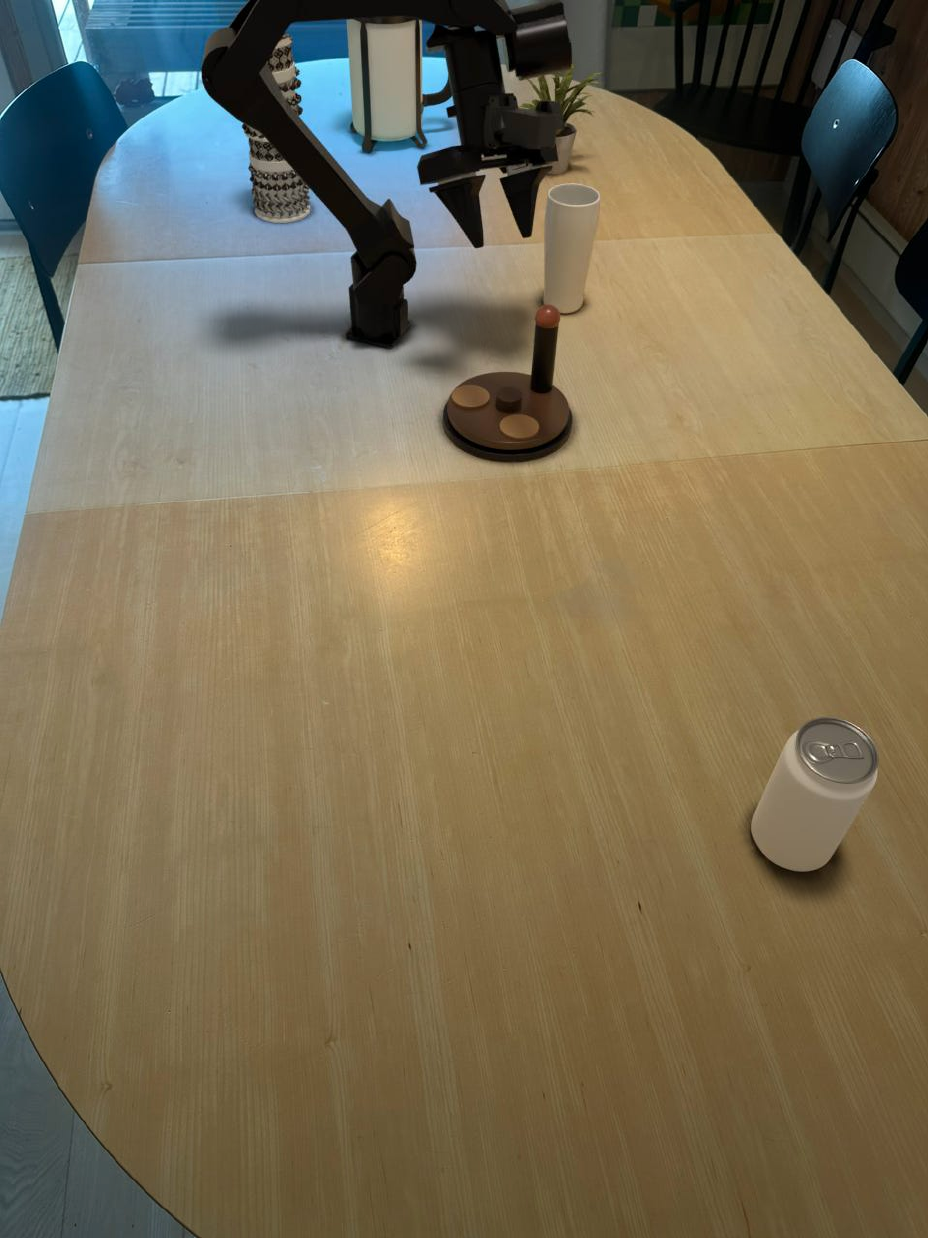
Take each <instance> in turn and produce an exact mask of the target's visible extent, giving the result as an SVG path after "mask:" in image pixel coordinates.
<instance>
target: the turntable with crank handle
mask: <svg viewBox="0 0 928 1238" xmlns="http://www.w3.org/2000/svg"><path fill="white" fill-rule="evenodd" d="M534 320H535V325H534V333H533V334H534V336H533V346H532V347H533V348H532V359H531V360H532V361H531V370H530V371H531V373H530V374H528V373H525V372H516V371H493V372H487V373H482V374H479V375H475V376H473V377H470V378H468V379H466V380H464V381H462V382H461V383H460V384H458V385H457V386H456V387H455V388H454V389H453V390H452V392H451V393H450V394H449V397H448V399H447V401H448V404H447V414H448V418H449V421H450V423H451V425H452V426H453V428H454V429H455V430H456V431H457V432H458V433H459V434H460V435H462V436H463V437H465V438H466V439H468V440H470V441H472V442H474V443H476V444H479V445H482V446H486V447H490V448H495V449H503V450H520V449H528V448H533V447H537V446H540V445H543V444H545V443H548V442H549V441H551V440H553V439H554V438H556V437H557V436H558V435H559V434H561V433H562V431H563V430H564V429H565V427H566V425H567V423H568V419H569V408H570V405H569V404H570V403H569V401H568V399H567V397H566V396H565V394H564V393H563V392H562V391H561V390H560V389H559V388H558V387H557V386H555V385H554V377H555V376H554V374H555V364H556V355H557V346H558V337H559V336H558V335H559V325H560V321H561V313H559V311H558V309H557V308H556V307H555V306H553V305H545V304H543V305H541V306H540V307H539V308H538V309H537V310H536V312H535V315H534Z"/></svg>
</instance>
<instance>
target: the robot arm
mask: <svg viewBox="0 0 928 1238" xmlns="http://www.w3.org/2000/svg"><path fill="white" fill-rule="evenodd" d="M564 5H565V4H564V2H563V1H562V0H543V1H541V2H537V3H533V4H528V5H525V6H520V7H516V8H510V7H509V4H508V3H507V1H506V0H247V2H245V4H244V5H243V6H242V7H241V8H240V9H239V11H238V12H237V14H236V15H235V16H234V18H233V19H232V21H231V22H230V24H229V25H228V26H227V27H222V28H218V29H217V30H215V31H214V32H212V33H211V34H210V36H209V37H208V39H207V40H206V43H205V46H204V49H203V55H202V62H201V68H200V70H201V71H200V72H201V83H202V86H203V88H204V91H205V92H206V94H207V95H208V96H209V98H210V99H212V101H213V102H215V103H216V104H217V105H219V106H220V107H221V108H222V109H224V111H226V112H227V113H228V114H230V115H231V116H232V117H233V118H235V119H236V120H237V121H239V123H242V124H243V123H244V124H246V125H248V126H249V127H251V128H253V129H255V130H257V131H258V132H260V133H261V134H262V135H263V136H264V137H265V138H266V139H267V140H268V141H269V143H270V144H271V145H272V146H273V147H274V148H275V149H276V151H277V152H278V153H279V154H280V155H281V156H282V157H283V159H284V160H285V161H286V162H287V163H288V164H289V165H290V166H291V168H292V169H293V170H294V171H295V172H296V173H297V174H298V176H299V177H300V178H301V179H302V180H303V181H304V182H305V183H306V185H307V186H308V187H309V190H311V191H312V193H313V194H314V195H315V197H316V198H318V200H319V201H320V202H321V203H322V204H323V205H324V206H325V207H326V209H327V210H329V212H330V214H332V216H333V217H334V218H335V219H336V220H337V221H338V222H339V223H340V225H341V226H342V227H343V228H344V229H345V231H346V233H347V235H348V236H349V238H350V240H351V242H352V244H353V246H354V249H355V250H356V251H355V252H354V253H353V254H351V256H350V259H349V260H350V267H351V268H350V269H351V278H352V283H351V285H349V287H348V299H349V300H348V301H349V316H350V328H349V329H348V330H347V332H346V333H345V338H346V339H347V340H348V339H349V340H352V341H356V342H362V343H366V344H368V345H369V344H370V345H374V346H378V347H382V348H387V349H391V348H393V347H394V346H395V344H397V342H398V341H399V340H400V339H401V337H403V335H404V334H405V333H406V332H407V330H408V329H409V327H410V326H411V321H410V320H409V301H408V299H407V298H405V286H404V285H405V284H408V282H410V281H411V280H412V279H413V277H414V275H415V273H416V271H417V265H418V264H417V258H416V251H415V243H414V238H413V232H412V227H411V222H410V220H409V219H407V218H405V217H403V215H401V213H399V211H398V210H397V207H395V204H394V203H393V201H392V200H391V199H390V198H387V200H386V201H385V202H384V203H383V204H382V205H380V204H378V203H376V202H374V201H373V200H371V199H370V198H369V197H367V196H366V195H365V193H364V192H363V191H362V189H361V188H360V187H359V186H358V185H357V184H356V182H355V181H354V180H353V179H352V178H351V177H350V175H349V174H348V173H347V172H346V170H345V169H344V168H343V167H342V166H341V164H340V163H339V162H338V161H337V160H336V159H335V157H334V156H333V155H332V154H331V152H329V150H328V149H327V148H326V146H325V145H324V144H323V143H322V142H321V141H320V139H319V138H318V137H317V136H316V135H315V134H314V132H313V131H312V130H311V129H310V128H309V126H308V125H307V124H306V122H304V120H303V119H302V118H301V117H300V115H299V116H298V115H297V113H296V112H295V111H294V110H293V109H292V107H291V106H290V105H289V104H288V103H287V101H286V100H285V98H284V96H283V94H282V92H281V90H280V88H279V86H278V84H277V82H276V80H275V78H274V76H273V74H272V72H271V70H270V68H269V66H268V64H267V61H268V59H269V58H270V56H271V54H272V53H273V51H274V49H275V48H276V46H277V44H278V43H279V41H280V39H281V37H282V36H283V34H284V33H285V32H286V31H287V30H288V28H289V27H290V26H291V25H292V24H295V23H309V22H310V23H311V22H327V21H347V20H348V19H366V18H383V17H409V18H415V19H419V20H422V22H425V23H429V24H432V25H434V27H433V31H432V32H431V35H430V36H429V38H428V39H427V40H426V42H425V52H426V53H427V54H429V55H431V54H435V53H440V52H444V60H445V63H446V69H447V76H448V75H449V81H450V87H451V92H452V97H451V98H452V102H453V103H452V104H453V105H451V106H447V107H445V109H446V115H447V119H454V118H455V119H456V125H457V130H458V136H459V141H460V145H459V144H458V145H452V146H448V147H444V148H442V149H438V150H436V151H431V152H429V153H426V154H422V155H420V158H419V160H418V163H417V165H416V169H417V176H418V181H419V186H424V185H425V186H426V185H431V184H432V186H430V187H428V191H429V193H433V194H434V195H435V196H436V197H437V198H438V200H439V201H440V202H441V203H442V204H443V206H444V207H445V208H446V210H447V211H448V212H449V213H450V215H451V216H452V217H453V219H454V220H455V222H456V223H457V225H458V226H459V227H460V229H461V231H462V232H463V233H464V235H465V236H466V238H467V239H468V241H469V242H470V244H471V245H472V247H473V248H474V249H481V248H483V247H484V246H485V240H484V239H485V236H484V225H483V217H482V208H481V200H480V199H481V198H480V192H481V191H482V187H483V185H484V182H485V180H486V176H487V175H486V174H481V175H477V173H479V172H480V171H484V170H492V169H499V171H500V172H501V174H503V175H506V176H502V177H499V182H500V185H501V188H502V190H503V193H504V196H505V198H506V200H507V203H508V206H509V208H510V210H511V213H512V216H513V219H514V222H515V224H516V226H517V229H518V231H519V234H520V235H521V237H522V238H523V239H525V238H527V239H528V238H531V237H532V235H533V228H534V221H535V214H536V206H537V199H538V193H539V189H540V185H541V183H542V181H543V180H544V179H545V178H546V176H547V175H548V174H547V173H548V172H550V171H551V170H552V168H553V166H547V167H543V165H547V164H551V163H554V162H558V161H559V160H558V153H557V146H556V143H555V140H556V135H557V134H559V133H560V132H561V131H562V130H563V129H564V127H565V124H564V122H563V115H562V112H561V108H560V104H559V102H556V101H555V100H551V101H550V100H545V101H540V100H539V103H538V105H537V107H536V109H535V110H534V109H529V108H523V107H519V104H518V99H517V96H516V95H515V93H514V92H506V88H505V87H506V86H505V82H504V75H503V69H502V63H501V58H500V51H499V46H498V40H499V39H501V44H502V51H503V58H504V65H505V68H506V71H507V73H513V72H514V75H515V77H516V78H517V79H518V81H519V82H522V81H527V79H530V80H532V79H535V78H537V77H540V76H545V77H546V76H549V75H555V73H558V74H559V73H562V72H566V71H568V70H570V69H571V67H572V62H573V48H572V47H573V45H572V40H571V38H570V37H569V31H568V30H569V29H568V23H567V20H566V16H565V6H564ZM448 26H449V27H454V28H448ZM476 27H479V28H481V29H483V30H476ZM433 184H437V185H434V186H433Z"/></svg>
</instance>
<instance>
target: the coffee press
mask: <svg viewBox="0 0 928 1238" xmlns="http://www.w3.org/2000/svg"><path fill="white" fill-rule="evenodd" d="M447 28H448V29H449V28H454V27H449V26H447ZM346 31H347V32H346V33H347V48H348V49H347V50H348V51H347V52H348V64H349V65H348V66H349V84H350V85H349V86H350V99H351V101H350V102H351V116H352V117H351V118H352V121H351V122H350V124H349V129H350V131H352V132H353V133H358V134H359V135H360V136H362V137H363V141H362V144H361V150H362V152H365V153H368V154H371V153H373V151H374V148H375V145H376V144H377V143H378V142H399V141H404V140H408V139H410V140H411V141H412V142H413V143H414V144H415V146H416V147H417V148H418V149H422V148H424V147H425V146H427V145H428V139H427V137H426V135H425V134H424V132H423V128H422V127H423V113H424V111H425V108H426V107H431V106H437V105H441V104H444V103H446V102H447V101H449V100H450V99H451V98H452V92H451V87H450V81H449V75H448V74H447V81H446V83H445V85H444V86H443V88H442V89H441V90H439V91H438V92H434V93H423V21H422V20H419V19H415V18H409V17H383V18H366V19H348V20H346ZM416 135H418V137H419V138H418V137H417V136H416ZM419 139H420V140H419Z"/></svg>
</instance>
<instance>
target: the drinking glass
mask: <svg viewBox="0 0 928 1238" xmlns="http://www.w3.org/2000/svg"><path fill="white" fill-rule="evenodd" d="M544 210H545V211H544V224H543V230H544V231H543V241H544V242H543V250H544V253H543V254H544V255H543V256H544V257H543V258H544V260H543V262H544V265H543V273H544V274H543V296H542V297H543V298H542V299H543V300H542V302H543V305H553V306H555V307H556V308H557V309H558V311H559V313H560V314H571V313H575V312H576V311H579V310H580V309H581V308H582V306H583V303H584V296H585V290H586V285H587V279H588V275H589V270H590V265H591V261H592V256H593V251H594V247H595V241H596V237H597V231H598V226H599V219H600V210H601V194H600V192H599V191H598V190H597V189H596V188H594V187H592V186H590V185H586V184H583V183H575V182H574V183H571V182H570V183H569V182H568V183H561V184H557V185H554V186H552V187H551V188H550V189H549V190H548V191H547V194H546V203H545V209H544Z"/></svg>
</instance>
